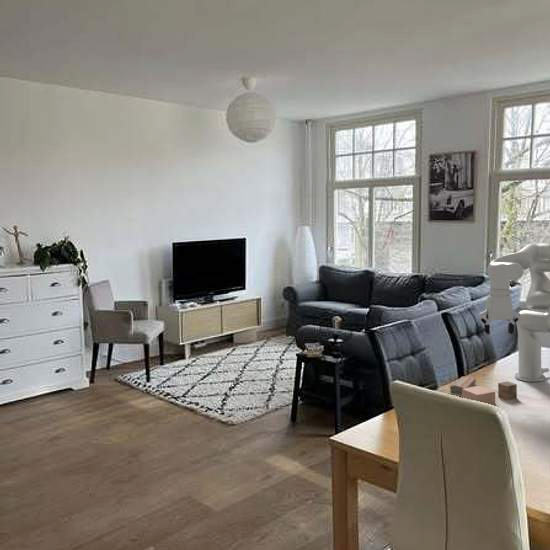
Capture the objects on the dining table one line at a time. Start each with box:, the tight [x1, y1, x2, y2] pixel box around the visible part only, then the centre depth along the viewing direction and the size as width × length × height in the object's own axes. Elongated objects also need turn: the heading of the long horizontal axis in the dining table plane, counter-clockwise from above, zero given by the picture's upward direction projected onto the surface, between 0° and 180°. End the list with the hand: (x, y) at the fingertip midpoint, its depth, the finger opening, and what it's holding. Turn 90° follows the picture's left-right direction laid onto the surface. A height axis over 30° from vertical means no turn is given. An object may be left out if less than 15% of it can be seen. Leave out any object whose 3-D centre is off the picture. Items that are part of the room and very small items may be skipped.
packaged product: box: [444, 376, 481, 396], centre depth 239 cm, size 18×5×10 cm
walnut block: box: [497, 380, 518, 401], centre depth 228 cm, size 5×5×6 cm
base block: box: [461, 385, 496, 405], centre depth 224 cm, size 9×9×5 cm
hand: (499, 333), depth 231 cm, fingers open, 9 cm apart
